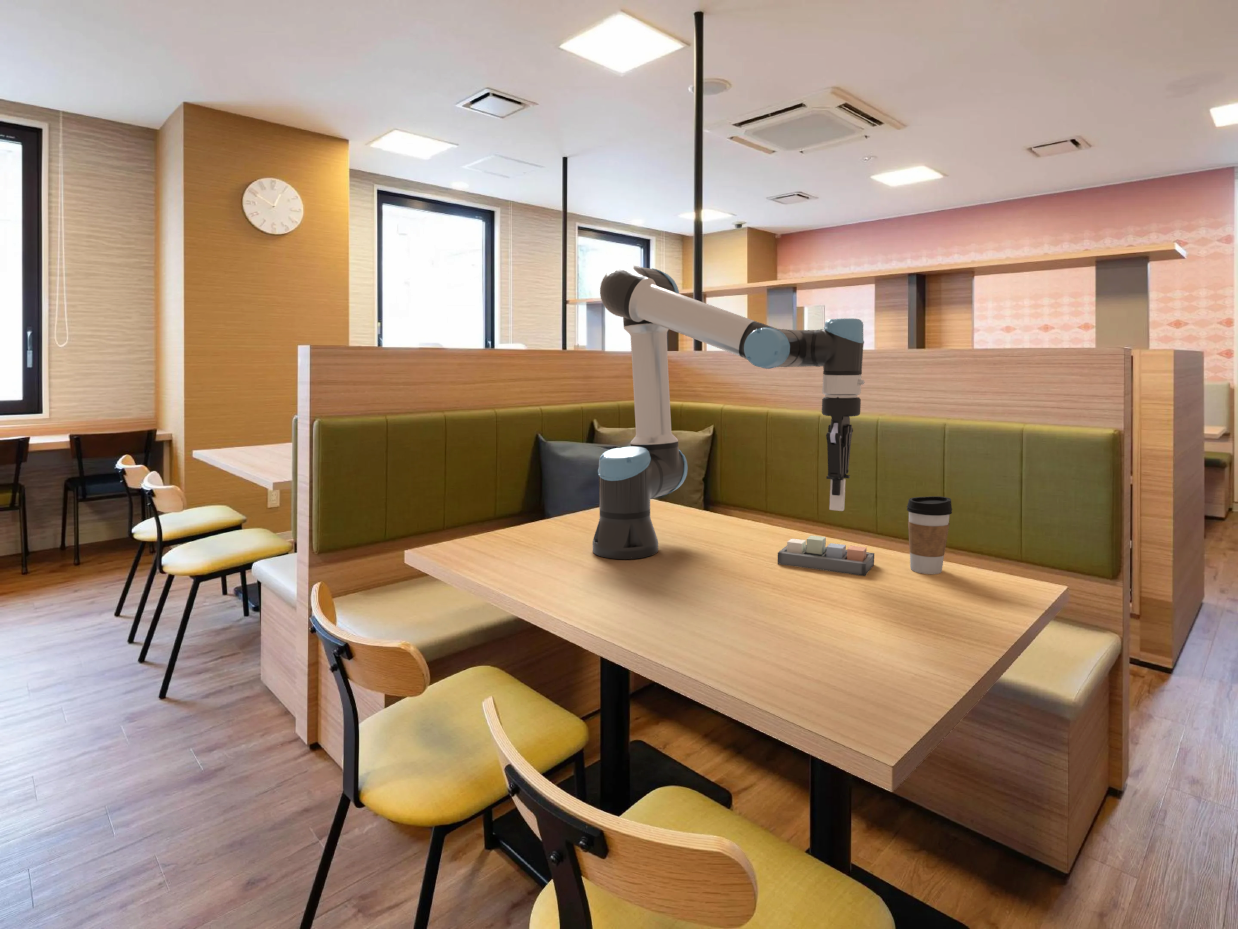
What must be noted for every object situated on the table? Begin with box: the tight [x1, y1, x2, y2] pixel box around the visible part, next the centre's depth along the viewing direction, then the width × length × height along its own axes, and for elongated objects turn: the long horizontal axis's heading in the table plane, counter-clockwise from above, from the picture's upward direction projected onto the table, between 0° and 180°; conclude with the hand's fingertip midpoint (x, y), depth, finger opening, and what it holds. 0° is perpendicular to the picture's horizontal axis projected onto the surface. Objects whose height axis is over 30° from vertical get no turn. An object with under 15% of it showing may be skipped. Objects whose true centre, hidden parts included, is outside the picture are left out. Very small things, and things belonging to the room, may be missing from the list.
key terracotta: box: [846, 545, 868, 562], centre depth 144 cm, size 3×3×3 cm
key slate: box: [826, 542, 847, 559], centre depth 146 cm, size 3×3×3 cm
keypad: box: [777, 544, 875, 577], centre depth 147 cm, size 18×9×2 cm, turn 60°
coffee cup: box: [906, 495, 953, 575], centre depth 141 cm, size 8×8×15 cm
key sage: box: [806, 535, 827, 554], centre depth 148 cm, size 3×3×3 cm
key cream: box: [786, 538, 807, 554], centre depth 150 cm, size 3×3×3 cm
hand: (836, 509), depth 145 cm, fingers closed
